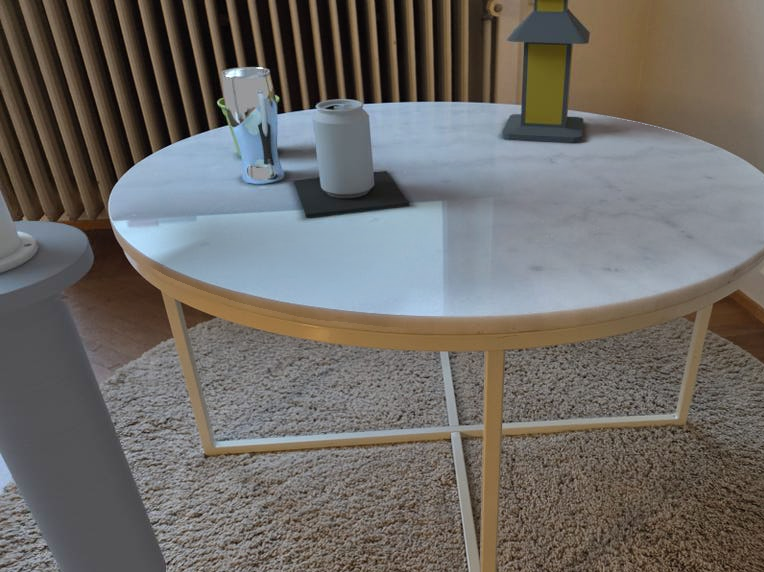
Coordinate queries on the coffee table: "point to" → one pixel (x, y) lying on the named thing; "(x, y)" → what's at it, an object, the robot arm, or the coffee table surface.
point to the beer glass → (253, 122)
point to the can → (343, 148)
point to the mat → (325, 204)
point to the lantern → (547, 74)
